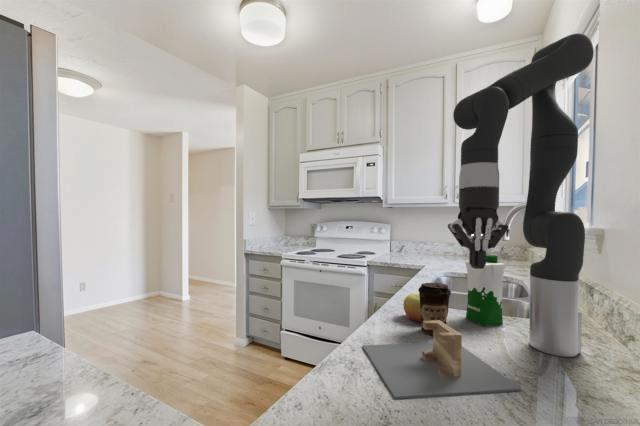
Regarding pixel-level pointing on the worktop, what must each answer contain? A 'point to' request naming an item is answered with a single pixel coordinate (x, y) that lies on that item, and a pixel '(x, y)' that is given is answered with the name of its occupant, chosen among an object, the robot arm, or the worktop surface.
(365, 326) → the worktop surface
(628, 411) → the worktop surface
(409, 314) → the apple
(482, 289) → the milk carton
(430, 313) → the coffee cup
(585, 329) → the worktop surface
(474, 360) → the mat
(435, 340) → the wooden bench
